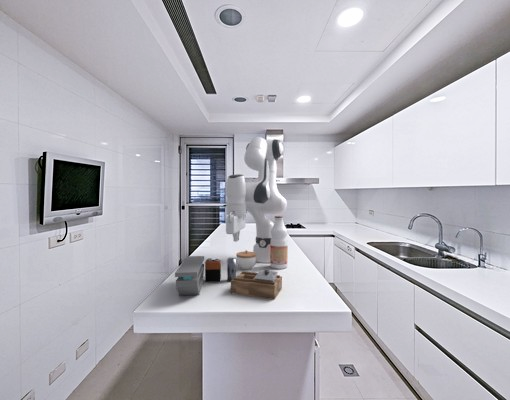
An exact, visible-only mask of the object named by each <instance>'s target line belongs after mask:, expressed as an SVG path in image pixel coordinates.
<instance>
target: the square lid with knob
mask: <svg viewBox="0 0 510 400" xmlns="http://www.w3.org/2000/svg"><path fill="white" fill-rule="evenodd" d="M257 273H258V274H257V275H256V280H261V281H270V282H275V281H276V279H277V278H278V271H274V270H273V271H272V270H270V269H262V270H260V271H259V272H257Z"/></svg>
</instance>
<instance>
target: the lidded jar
mask: <svg viewBox="0 0 510 400" xmlns="http://www.w3.org/2000/svg"><path fill="white" fill-rule="evenodd" d="M235 254H236V264H237V265H238V267H240V269H242V270H251V269H253V267H254V266H256V265H255V264H256V253H255V252H253V251H248V250H247V249H246V250H244V251H239V252H236V253H235Z"/></svg>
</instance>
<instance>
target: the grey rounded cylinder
mask: <svg viewBox="0 0 510 400" xmlns="http://www.w3.org/2000/svg"><path fill="white" fill-rule="evenodd" d="M226 263H227V265H226V266H227V270H226V271H227V275H226V277H227V278H226V279H227V282H229V283H231V280H232V279H233V278H234V277H236V276H237V257H227V262H226Z"/></svg>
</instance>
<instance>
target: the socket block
mask: <svg viewBox="0 0 510 400" xmlns="http://www.w3.org/2000/svg"><path fill="white" fill-rule="evenodd" d="M258 273H259V272H251V271H245V270H244V271H243V270H242V271H241V272H240V273H238V275H236V277H234V278H233V279H232V280H231V282H230V294H235V295H242V296H247V297H254V298H255V297H256V298H261V299H262V298H263V299H269V300H275V299H276V298H277V296H278V295H279V293H280V292H281V291H282V289H283V276H281V275H278V278H277V279H276V281H275V282H270V281H261V280H256V275H257V274H258Z"/></svg>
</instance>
